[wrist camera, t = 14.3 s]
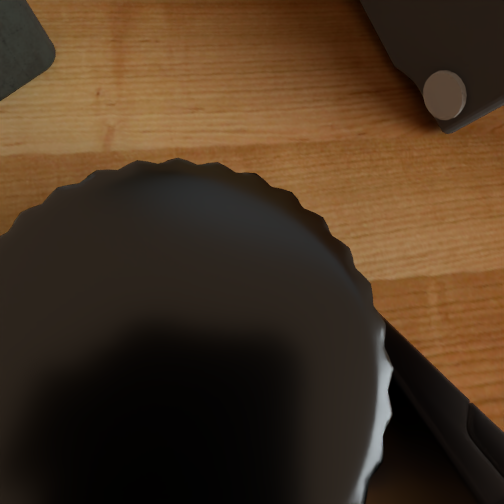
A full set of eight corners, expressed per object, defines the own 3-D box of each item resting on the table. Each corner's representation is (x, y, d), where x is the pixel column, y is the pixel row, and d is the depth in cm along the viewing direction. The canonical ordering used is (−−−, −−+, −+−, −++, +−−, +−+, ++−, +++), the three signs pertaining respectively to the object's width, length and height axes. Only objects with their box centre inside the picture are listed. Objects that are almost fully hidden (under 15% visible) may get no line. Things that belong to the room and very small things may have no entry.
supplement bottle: (308, 280, 16) (532, 161, 5) (272, 446, 15) (462, 894, 3) (154, 240, 16) (-28, 10, 4) (103, 404, 15) (-370, 718, 3)
